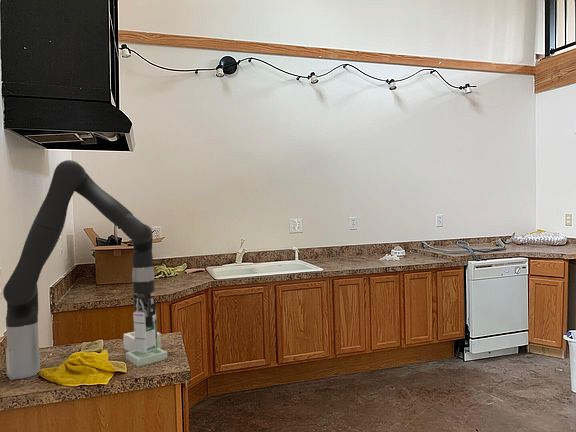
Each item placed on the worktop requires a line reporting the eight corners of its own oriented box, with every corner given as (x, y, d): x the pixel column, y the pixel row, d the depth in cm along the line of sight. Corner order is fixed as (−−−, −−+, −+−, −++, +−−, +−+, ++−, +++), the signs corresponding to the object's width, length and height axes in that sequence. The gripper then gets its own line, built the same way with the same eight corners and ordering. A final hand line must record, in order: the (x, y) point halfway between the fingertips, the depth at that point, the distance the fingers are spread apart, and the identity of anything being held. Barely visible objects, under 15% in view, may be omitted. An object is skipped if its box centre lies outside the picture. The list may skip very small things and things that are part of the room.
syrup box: (146, 353, 159) (144, 312, 158) (134, 351, 161) (132, 311, 161) (157, 349, 164) (156, 309, 163) (146, 347, 166) (145, 308, 166)
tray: (138, 366, 155) (137, 359, 155) (125, 359, 163) (125, 352, 163) (167, 358, 162) (167, 352, 162) (154, 352, 170) (154, 345, 170)
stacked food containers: (135, 355, 167) (134, 339, 167) (123, 349, 175) (123, 333, 175) (162, 349, 174) (161, 333, 174) (149, 343, 182) (149, 328, 182)
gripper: (125, 278, 165) (127, 323, 165) (141, 282, 154) (143, 330, 154) (145, 276, 170) (146, 319, 170) (161, 279, 159) (163, 326, 159)
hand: (145, 324), depth 162 cm, fingers closed on syrup box, 6 cm apart
